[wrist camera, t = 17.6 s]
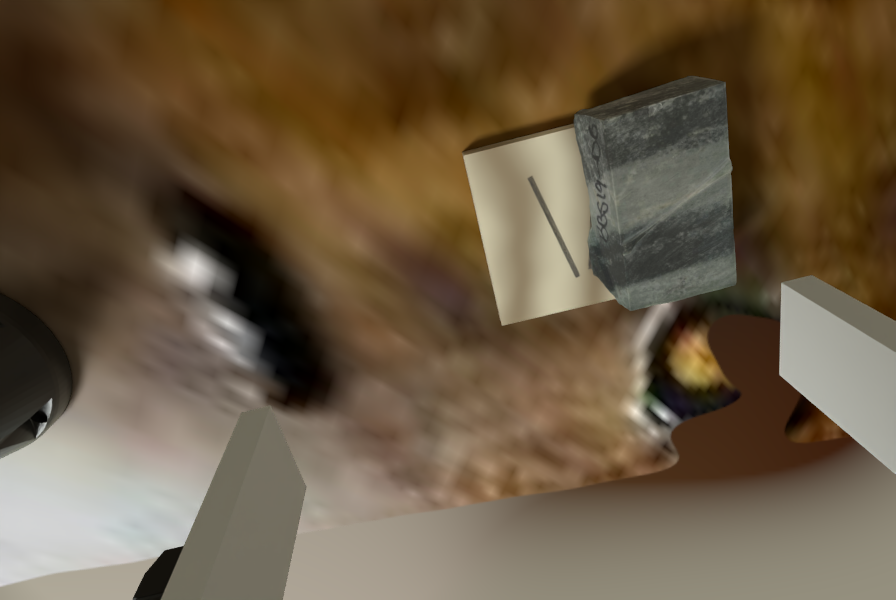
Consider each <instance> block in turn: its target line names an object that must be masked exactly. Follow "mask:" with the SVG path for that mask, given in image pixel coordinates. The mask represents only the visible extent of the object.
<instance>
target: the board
mask: <svg viewBox="0 0 896 600" xmlns="http://www.w3.org/2000/svg"><path fill="white" fill-rule="evenodd" d="M462 154H463V159H464V163H465V167H466V172H467V176H468V181H469V185H470V189H471V194H472V198H473V202H474V207H475V211H476V216H477V220H478V224H479V229H480V233H481V238H482V242H483V246H484V251H485V255H486V259H487V264H488V268H489V273H490V277H491V281H492V286H493V290H494V295H495V299H496V303H497V308H498V312H499V317H500V320H501V324H502V326H503V325H507V324H511V323H515V322H519V321H524V320H528V319H532V318H536V317H541V316H545V315H549V314H553V313H557V312H562V311H566V310H570V309H574V308H579V307H583V306H587V305H591V304H595V303H600V302H604V301H608V300H612V299H616V298H615V297H614V296H613V295H612V294H611V293H610V292H609V290H608V289H607V288H606V287H605V286H604V284H603V283H602V282H601V281H600V279H599V278H598V277H597V276H594V275H593V271H592V266H591V261H590V256H589V248H588V242H587V240H588V236H589V230H590V229H591V227H592V223H591V214H590V208H589V205H590V199H589V194H588V188H587V185H586V181H585V176H584V171H583V165H582V160H581V155H580V152H579V147H578V144H577V141H576V134H575V128H574V124H570V125H566V126H562V127H558V128H554V129H551V130H547V131H543V132H539V133H535V134H531V135H527V136H523V137H519V138H515V139H511V140H507V141H504V142H500V143H496V144H492V145H488V146H484V147H480V148H476V149H472V150H468V151H464V152H462Z"/></svg>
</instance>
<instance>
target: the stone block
mask: <svg viewBox="0 0 896 600" xmlns="http://www.w3.org/2000/svg"><path fill="white" fill-rule="evenodd" d="M574 128H575V134H576V141H577V144H578V147H579V152H580V155H581V160H582V165H583V171H584V176H585V181H586V185H587V188H588V194H589V199H590V205H589V208H590V214H591V223H592V227H591V229H590V230H589V236H588V240H587V242H588V248H589V256H590V261H591V266H592V271H593V275H594V276H597V277H598V278H599V279H600V281H601V282H602V283H603V284H604V286H605V287H606V288H607V289H608V290H609V292H610V293H611V294H612V295H613V296H614V297H615V298H616V300H617V301H618V303H619V304H621V305H623V306H624V307H625V308H628V309H629V310H630V311H632V310H636V309H640V308H645V307H649V306H652V305H657V304H663V303H669V302H673V301H678V300H681V299H685V298H688V297H692V296H695V295H698V294H702V293H707V292H710V291H714V290H718V289H722V288H726V287H729V286H733V285H736V261H735V243H734V234H733V228H734V226H733V204H732V183H731V171H732V163H731V160H730V158H729V142H728V123H727V100H726V83H725V82H723V81H718V80H714V79H708V78H702V77H697V76H687V77H685V78H682V79H679V80H675V81H672V82H669V83H667V84H664V85H661V86H657V87H654V88H651V89H648V90H645V91H642V92H639V93H636V94H633V95H630V96H627V97H624V98H621V99H618V100H615V101H612V102H610V103H606V104H604V105H600V106H597V107H594V108H591V109H583V110H580V111H578V112H577V113H576V114H575V117H574Z"/></svg>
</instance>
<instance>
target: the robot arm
mask: <svg viewBox="0 0 896 600" xmlns="http://www.w3.org/2000/svg"><path fill="white" fill-rule="evenodd" d="M779 375H780V376H781V377H783V378H784V379H785V380H786V381H787V382H788V383H790V384H791V385H792V386H793V387H794V388H795V389H797V390H798V391H799V392H800V393H801V394H802V395H804V396H805V397H806V398H807V399H808V400H809V401H811V402H812V403H813V404H814V405H815V406H816V407H818V408H819V409H820V410H821V411H822V412H823V413H825V414H826V415H827V416H828V417H829V418H830V419H832V420H833V421H834V422H835V423H836V424H837V425H839V426H840V427H841V428H842V429H843V430H844V431H846V432H847V433H848V434H849V435H850V436H851V437H853V438H854V439H855V440H856V441H857V442H858V443H860V444H861V445H862V446H863V447H865V449H867V450H868V451H869V452H870V453H871V454H873V455H874V456H875V457H876V458H877V459H878V460H879V461H881V462H882V463H883V464H884V465H885V466H886V467H888V468H889V469H890V470H891V471H892V472H894V473H895V474H896V321H894V320H892V319H890V318H889V317H887V316H885V315H883V314H881V313H880V312H878V311H876V310H874V309H872V308H870V307H869V306H867V305H865V304H863V303H861V302H860V301H858V300H856V299H854V298H852V297H850V296H849V295H847V294H845V293H843V292H841V291H839V290H838V289H836V288H834V287H832V286H830V285H829V284H827V283H825V282H823V281H821V280H819V279H818V278H816V277H814V276H812V275H811V276H807V277H803V278H799V279H795V280H791V281H786V282H782V284H781V328H780V374H779ZM71 390H72V377H71V370H70V366H69V363H68V360H67V357H66V355H65V353H64V351H63V349H62V347H61V345H60V344H59V342H58V341H57V339H56V338H55V336H54V335H53V334H52V333H51V331H50V330H49V329H48V328H47V327H46V326H45V325H44V324H43V323H42V322H41V321H40V320H39V319H38V318H37V317H36V316H35V315H33V314H32V313H31V312H30V311H28V310H27V309H26V308H24V307H23V306H21V305H20V304H18V303H17V302H15V301H13V300H11V299H10V298H8V297H6V296H4V295H2V294H0V459H1V458H3V457H5V456H7V455H9V454H11V453H13V452H15V451H17V450H19V449H21V448H23V447H25V446H27V445H29V444H31V443H32V442H34V441H35V440H36V439H38V438H39V437H40V436H42V435H43V434H44V433H45V432H46V431H47V430H48V429H49V428H50V427H51V426H52V425H53V424H54V423H55V421H56V420H57V419H58V418H59V417H60V416H61V415H62V413H63V412H64V410H65V409H66V407H67V405H68V402H69V399H70V396H71ZM305 491H306V485H305V483H304V481H303V478H302V476H301V474H300V471H299V469H298V467H297V465H296V462H295V460H294V458H293V455H292V453H291V451H290V449H289V446H288V444H287V442H286V439H285V437H284V435H283V433H282V430H281V428H280V426H279V423H278V421H277V419H276V417H275V414H274V412H273V410H272V407H271V406H267V407H263V408H259V409H255V410H250V411H246V412H242V413H241V415H240V417H239V420H238V422H237V424H236V427H235V429H234V431H233V434H232V436H231V438H230V440H229V443H228V445H227V447H226V450H225V452H224V454H223V457H222V459H221V461H220V464H219V466H218V468H217V471H216V473H215V475H214V478H213V480H212V482H211V484H210V487H209V489H208V491H207V494H206V496H205V498H204V501H203V503H202V505H201V508H200V510H199V512H198V515H197V517H196V519H195V522H194V524H193V526H192V528H191V531H190V533H189V535H188V538H187V540H186V542H185V545H184V546H182V547H177V548H173V549H169V550H165V551H164V552H163V553H162V554H161V555H160V557H159V558H158V559H157V560H156V561H155V562H154V564H153V565H152V566H151V567H150V568H149V570H148V571H147V572H146V573H145V575H144V577H143V579H142V581H141V583H140V585H139V587H138V589H137V591H136V593H135V595H134V597H133V600H283V596H284V591H285V586H286V581H287V576H288V572H289V567H290V562H291V557H292V553H293V548H294V543H295V539H296V534H297V529H298V524H299V520H300V515H301V510H302V505H303V501H304V496H305Z"/></svg>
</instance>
